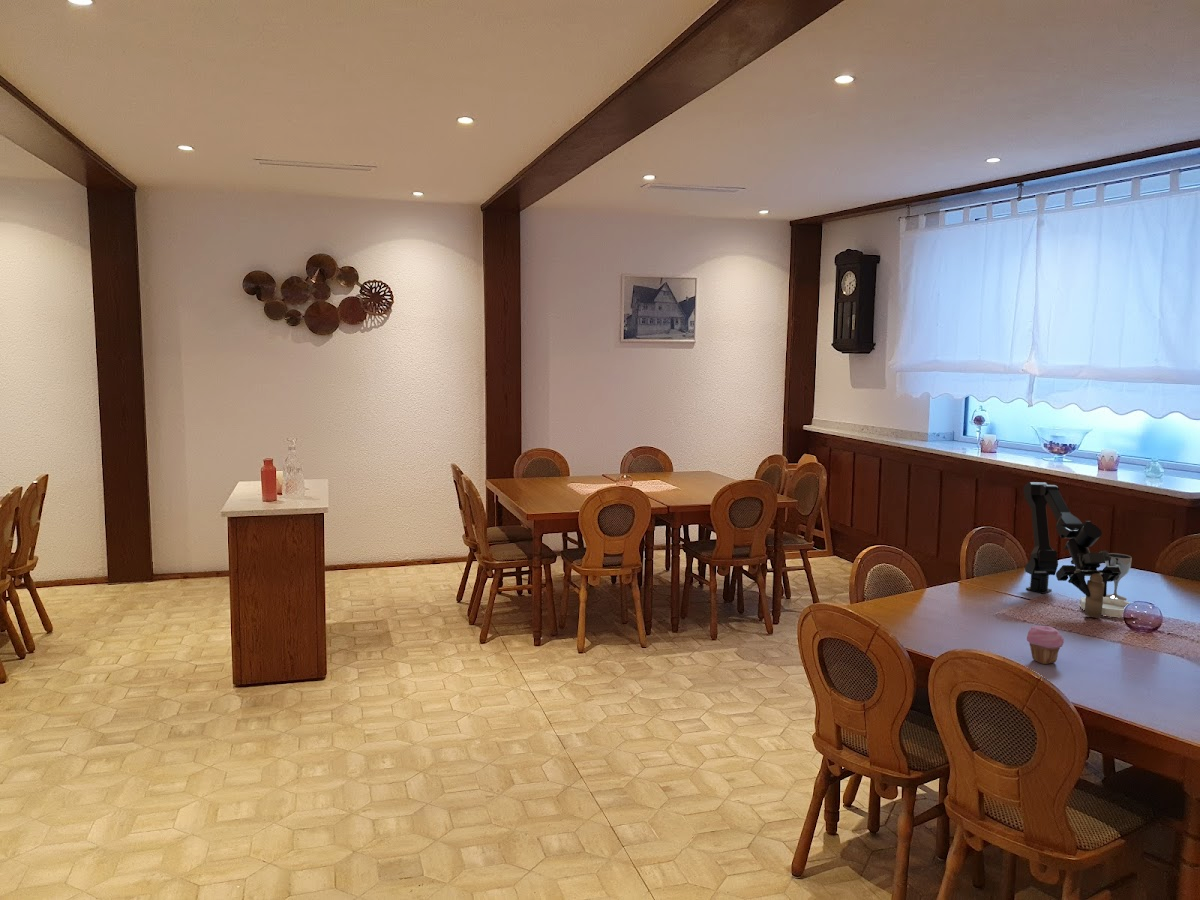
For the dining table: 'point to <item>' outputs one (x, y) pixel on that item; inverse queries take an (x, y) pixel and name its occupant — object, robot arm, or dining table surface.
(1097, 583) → the pepper mill
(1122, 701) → the dining table surface
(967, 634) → the dining table surface
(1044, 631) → the cupcake
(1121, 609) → the dish
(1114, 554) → the wine glass
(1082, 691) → the dining table surface
